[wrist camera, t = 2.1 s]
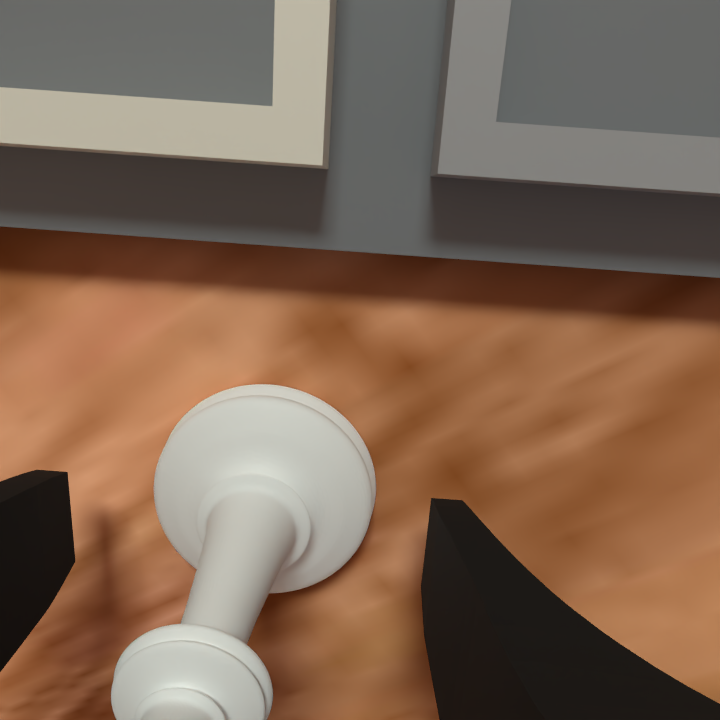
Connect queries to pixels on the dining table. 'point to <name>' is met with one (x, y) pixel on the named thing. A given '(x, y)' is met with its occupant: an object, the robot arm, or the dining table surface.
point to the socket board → (372, 126)
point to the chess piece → (244, 543)
